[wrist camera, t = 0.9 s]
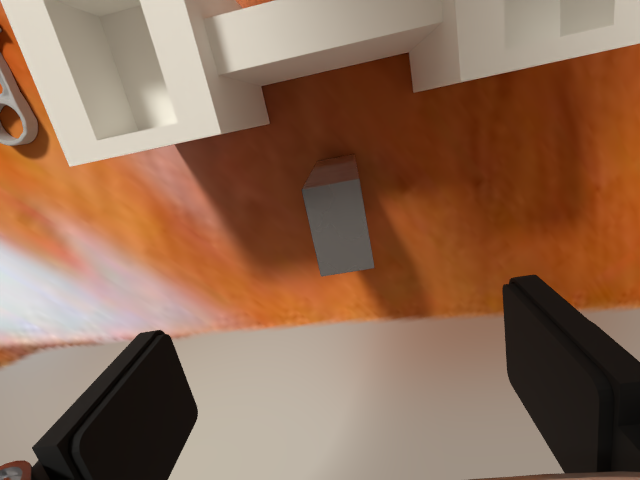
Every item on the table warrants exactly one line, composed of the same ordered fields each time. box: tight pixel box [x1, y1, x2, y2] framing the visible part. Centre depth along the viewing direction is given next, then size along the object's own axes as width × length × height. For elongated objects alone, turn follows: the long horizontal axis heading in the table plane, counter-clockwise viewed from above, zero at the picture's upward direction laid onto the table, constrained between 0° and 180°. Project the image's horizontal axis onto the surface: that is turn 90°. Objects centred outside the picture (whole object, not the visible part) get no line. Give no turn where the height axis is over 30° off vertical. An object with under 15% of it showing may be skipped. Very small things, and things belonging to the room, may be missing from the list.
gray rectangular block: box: [302, 154, 374, 276], centre depth 25 cm, size 5×3×11 cm, turn 12°
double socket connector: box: [1, 0, 640, 166], centre depth 21 cm, size 8×27×12 cm, turn 101°
